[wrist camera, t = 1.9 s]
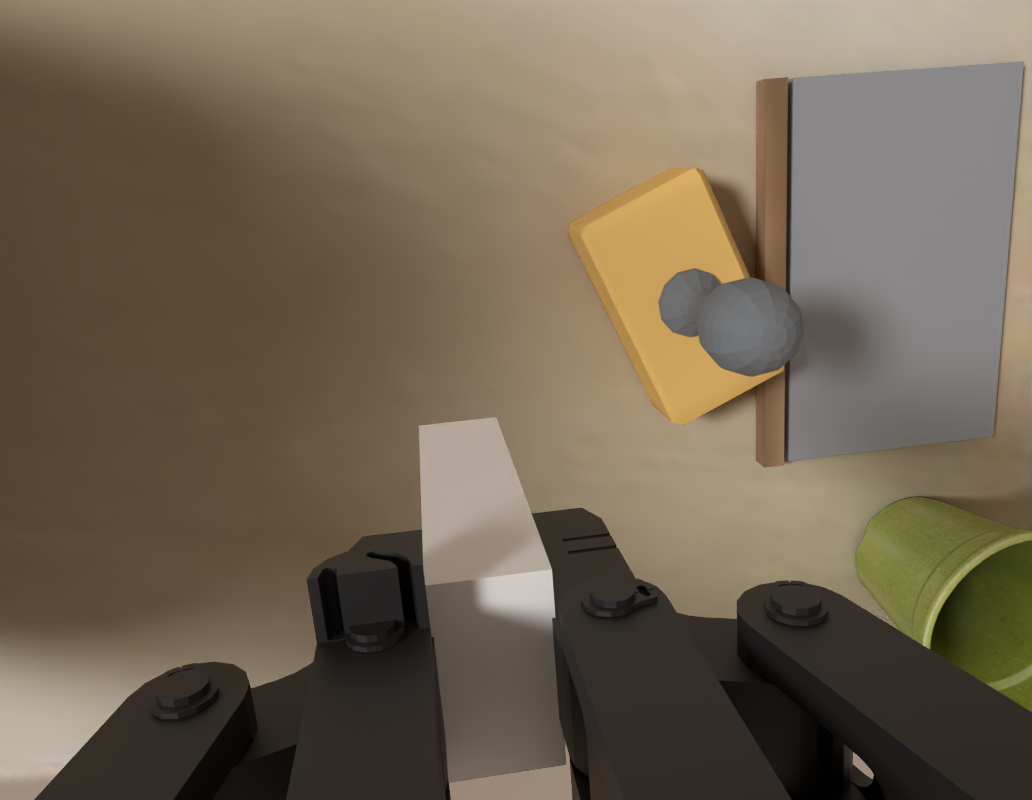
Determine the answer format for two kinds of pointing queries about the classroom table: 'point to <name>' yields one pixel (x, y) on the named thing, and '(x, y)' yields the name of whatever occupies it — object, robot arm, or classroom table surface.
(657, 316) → the rubber stamp
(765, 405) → the rail
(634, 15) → the classroom table surface
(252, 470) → the classroom table surface
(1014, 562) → the plant pot
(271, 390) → the classroom table surface
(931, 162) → the mat
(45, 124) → the classroom table surface
